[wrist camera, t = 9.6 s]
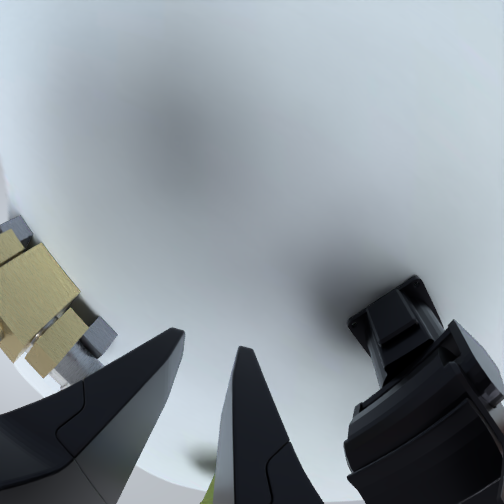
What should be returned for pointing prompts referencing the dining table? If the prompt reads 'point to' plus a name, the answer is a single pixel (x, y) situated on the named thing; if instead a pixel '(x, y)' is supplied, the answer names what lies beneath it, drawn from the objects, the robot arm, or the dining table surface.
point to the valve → (44, 311)
